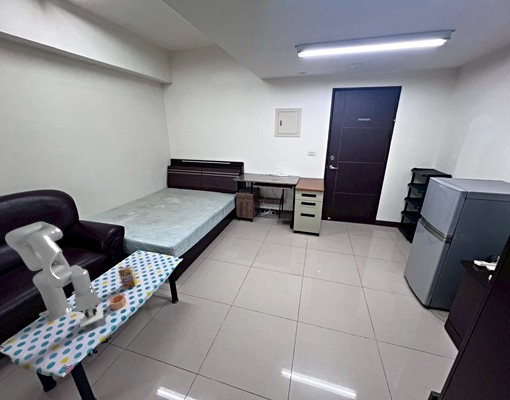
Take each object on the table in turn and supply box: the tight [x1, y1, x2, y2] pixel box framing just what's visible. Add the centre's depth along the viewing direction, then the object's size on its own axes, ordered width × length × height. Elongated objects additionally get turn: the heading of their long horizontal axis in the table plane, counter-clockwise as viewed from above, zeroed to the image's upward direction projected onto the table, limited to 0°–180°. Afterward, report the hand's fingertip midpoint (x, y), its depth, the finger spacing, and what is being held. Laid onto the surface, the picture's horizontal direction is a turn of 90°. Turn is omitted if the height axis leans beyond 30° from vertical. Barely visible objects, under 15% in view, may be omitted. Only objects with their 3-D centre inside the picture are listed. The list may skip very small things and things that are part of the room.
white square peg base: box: [79, 304, 104, 328], centre depth 129 cm, size 11×11×6 cm
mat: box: [84, 311, 107, 334], centre depth 131 cm, size 10×12×1 cm
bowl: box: [108, 293, 127, 311], centre depth 143 cm, size 9×9×5 cm
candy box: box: [118, 266, 138, 289], centre depth 159 cm, size 9×4×15 cm, turn 98°
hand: (91, 314), depth 130 cm, fingers closed on white square peg base, 3 cm apart
